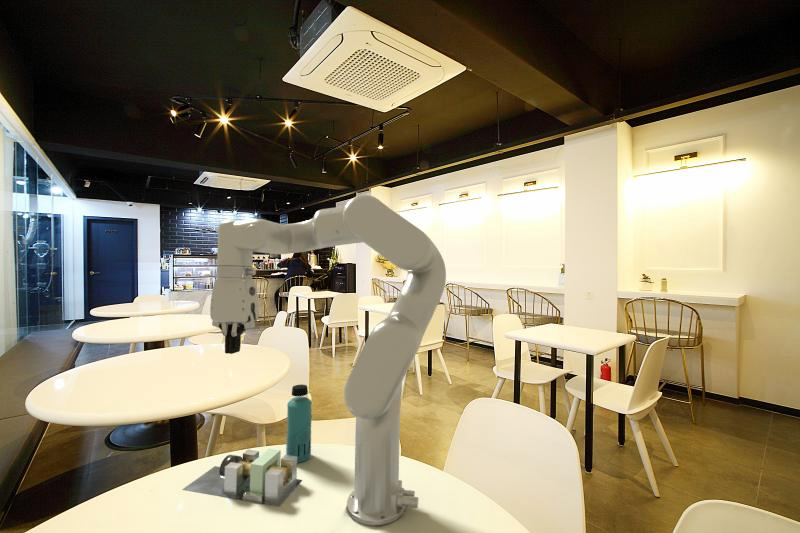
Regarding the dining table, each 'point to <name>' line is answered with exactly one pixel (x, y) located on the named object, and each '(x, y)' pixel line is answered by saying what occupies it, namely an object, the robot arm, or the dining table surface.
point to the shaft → (246, 467)
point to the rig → (248, 482)
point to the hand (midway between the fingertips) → (232, 352)
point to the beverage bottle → (299, 424)
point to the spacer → (262, 469)
